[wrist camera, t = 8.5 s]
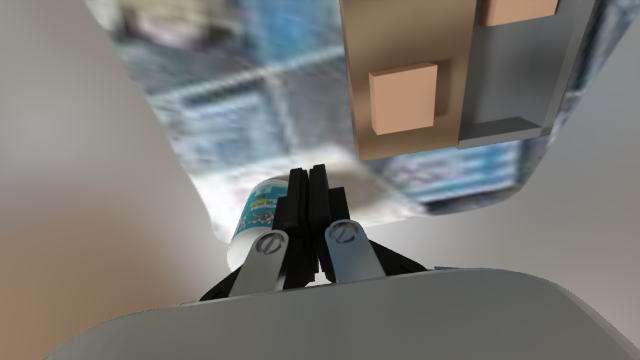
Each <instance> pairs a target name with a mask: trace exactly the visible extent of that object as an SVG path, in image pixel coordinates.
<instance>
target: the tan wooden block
mask: <svg viewBox="0 0 640 360" xmlns="http://www.w3.org/2000/svg"><path fill="white" fill-rule="evenodd" d="M476 1H477V0H339V4H340V14H341V23H342V33H343V42H344V52H345V61H346V70H347V80H348V89H349V99H350V108H351V118H352V127H353V136H354V146H355V149H356V152H357V154H358V157H359V160H360V161H366V160H372V159H378V158H385V157H391V156H397V155H403V154H409V153H415V152H421V151H427V150H434V149H440V148H446V147H452V146H457V144H458V137H459V129H460V122H461V114H462V107H463V99H464V91H465V84H466V76H467V69H468V61H469V54H470V46H471V38H472V31H473V23H474V16H475V8H476ZM425 62H429V63H432V64H435V65H437V78H436V92H435V106H434V120H433V126H428V127H422V128H416V129H411V130H405V131H399V132H393V133H387V134H381V135H377V134H376V133H375V131H374V129H373V128H372V114H371V98H370V81H369V73H372V72H377V71H382V70H388V69H393V68H398V67H404V66H409V65H415V64H420V63H425Z"/></svg>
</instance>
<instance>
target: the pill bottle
mask: <svg viewBox="0 0 640 360" xmlns="http://www.w3.org/2000/svg"><path fill="white" fill-rule="evenodd" d="M288 183H289V182H287V181H284V180H279V179H271V180H266V181H263V182H261V183H259V184H258V185H256V186H255V187H254V188H253V190H252V191H251V193H250V195H249V197H248V200H247V202H246V205H245V207H244V210H243V212H242V215H241V218H240V220H239V223H238V225H237V228H236V230H235V233H234V235H233V238H232V240H231V243H230V246H229V249H228V252H227V261H228V265H229V267H230V269H231V271H232V272H233V271H235V270H236V269H237V268H238V267H240V266H241V265H242V264H244V261H245V259H246V257H247V255H248V253H249V251H250V248H251V246H252V244H253V242H254V241H255V239H256V238H258V237H259V236H260V235H261V234H263V233H265V232H268V231H271V229H272V224H273V219H274V214H275V209H276V204H277V199H278V197H283V196H287V189H288Z"/></svg>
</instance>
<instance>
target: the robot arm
mask: <svg viewBox="0 0 640 360" xmlns="http://www.w3.org/2000/svg"><path fill="white" fill-rule="evenodd" d="M319 262H320V265H321V269H322V272H325V276H326V279H328V280H329V281H331V282H332V283H331V284H323V285H316V286H308V287H305V286H306V285H307V284H308V283H309V282H314V281H315V273H319ZM43 360H640V350H639V349H638V348H637V347H636V346H635V345H634V344H633V343H631V342H630V341H629V340H628V339H627V338H626V337H625V336H624V335H623V334H622V333H620V332H619V331H618V330H617V329H616V328H615V327H614V326H613V325H612V324H611V323H609V322H608V321H607V320H606V319H605V318H604V317H602V316H601V315H600V314H599V313H598V312H596V311H595V310H594V309H593V308H592V307H591V306H589V305H588V304H587V303H585V302H584V301H583V300H582V299H580V298H579V297H577V296H576V295H575V294H573V293H572V292H570V291H569V290H567V289H565V288H563V287H562V286H560V285H558V284H556V283H553V282H551V281H549V280H546V279H543V278H539V277H537V276H533V275H529V274H525V273H520V272H514V271H508V270H503V269H491V268H452V267H434V270H430V269H426V268H425V267H423V266H422V265H421V264H419V263H417V262H415V261H413V260H411V259H409V258H407V257H405V256H402V255H400V254H398V253H396V252H394V251H392V250H390V249H388V248H386V247H384V246H382V245H380V244H377V243H376V242H374V241H371V240H369V239H368V238H367V236H366V234H365V232H364V230H363V228H362V226H361V225H360V224H359V223H357V222H356V221H353V220H350V215H349V210H348V206H347V201H346V196H345V191H344V187H339V188H332V189H329V186H328V180H327V175H326V170H325V165H324V164H320V165H314V166H313V169H310V171H309V178H308V173H307V170H303V169H302V168H296V169H291V170H290V176H289V183H288V189H287V196H283V197H278V199H277V204H276V209H275V214H274V219H273V224H272V229H271V231H268V232H265V233H263V234H261V235H260V236H259V237H258V238H256V239H255V241H254V242H253V244H252V246H251V248H250V251H249V253H248V255H247V257H246V259H245V261H244V264H242V265H241V266H240V267H238V268H237V269H236V270H235V271H233V272H232V273H231V274H230V275H229V276H227V277H226V278H224V279H223V280H222V281H221V282H219V283H218V284H217V285H216V286H214V287H213V288H212V289H211V290H209V291H208V292H207V293H206V294H205V295H204V296H203V297H202V298H201V299H200V300H199V302H197V301H196V299H194V300H191V301H188V302H185V303H182V304H180V305H175V306H167V307H162V308H156V309H151V310H146V311H140V312H135V313H131V314H127V315H123V316H120V317H117V318H114V319H111V320H108V321H105V322H102V323H100V324H98V325H96V326H93V327H91V328H89V329H87V330H85V331H82V332H81V333H79V334H77V335H75V336H73V337H71V338H70V339H68V340H67V341H65V342H63V343H62V344H60V345H59V346H58V347H57V348H55V349H54V350H53V351H52V352H51V353H50V354H49V355H48V356H46V357H45V358H44V359H43Z"/></svg>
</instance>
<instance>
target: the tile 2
mask: <svg viewBox="0 0 640 360" xmlns="http://www.w3.org/2000/svg"><path fill="white" fill-rule="evenodd" d="M557 2H558V0H483V4H482V11H481V17H480V24H479V26H495V25H501V24H506V23H512V22H517V21H523V20H528V19H534V18H539V17H545V16H550V15H554V13H555V9H556V6H557Z"/></svg>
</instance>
